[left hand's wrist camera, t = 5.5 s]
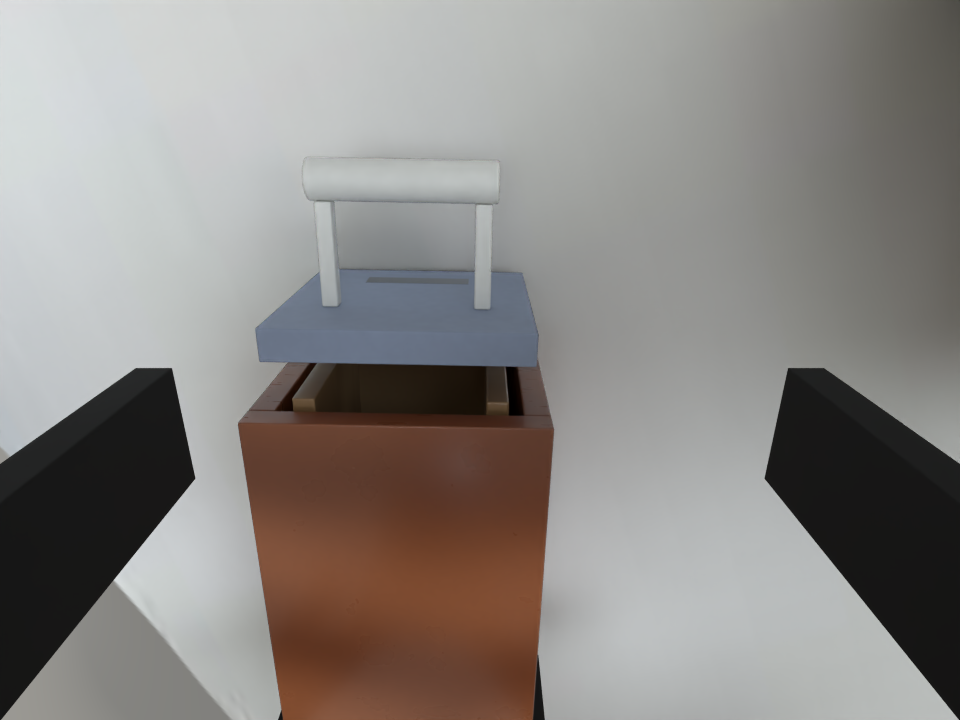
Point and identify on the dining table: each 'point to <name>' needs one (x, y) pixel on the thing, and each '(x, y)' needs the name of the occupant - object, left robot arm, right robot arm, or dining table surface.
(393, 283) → the drawer
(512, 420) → the cabinet
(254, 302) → the dining table surface
